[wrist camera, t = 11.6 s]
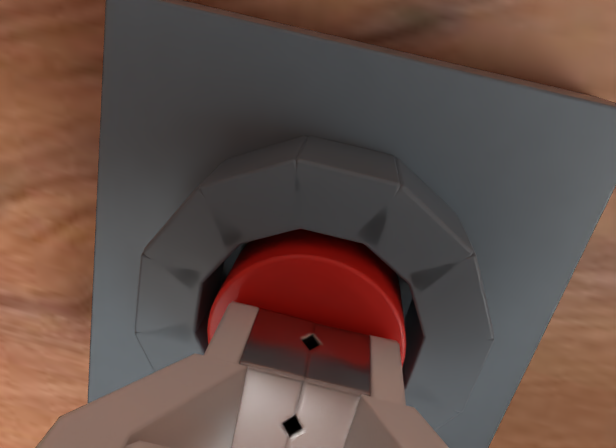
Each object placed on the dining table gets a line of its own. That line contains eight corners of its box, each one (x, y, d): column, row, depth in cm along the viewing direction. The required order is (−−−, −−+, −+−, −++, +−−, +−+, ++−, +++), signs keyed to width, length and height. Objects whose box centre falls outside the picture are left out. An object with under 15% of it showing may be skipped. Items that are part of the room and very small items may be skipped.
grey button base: (153, -7, 11) (45, -20, 7) (598, 96, 11) (718, 137, 7) (124, 353, 15) (45, 462, 11) (450, 433, 15) (478, 571, 11)
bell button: (244, 198, 10) (220, 233, 8) (422, 241, 10) (433, 285, 8) (219, 344, 11) (194, 398, 10) (374, 383, 11) (376, 443, 10)
